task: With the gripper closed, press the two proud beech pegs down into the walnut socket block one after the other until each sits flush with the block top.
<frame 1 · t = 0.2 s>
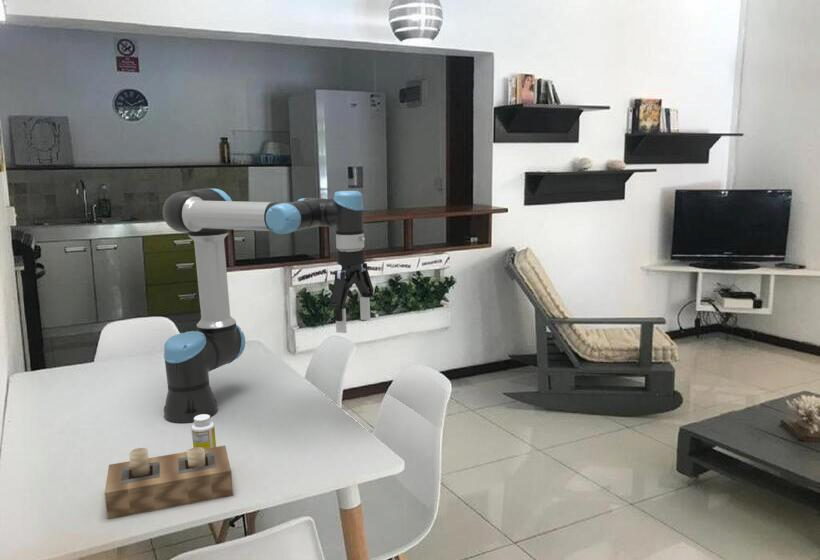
hand: (353, 326, 187), 28 cm above the table, fingers open, 13 cm apart
socket block: (171, 491, 156), on the table
supplement bottle: (205, 455, 175), on the table
short peg: (196, 462, 157), point 6 cm above the table, slide at 3.0 cm
tall peg: (139, 464, 153), point 8 cm above the table, slide at 5.0 cm
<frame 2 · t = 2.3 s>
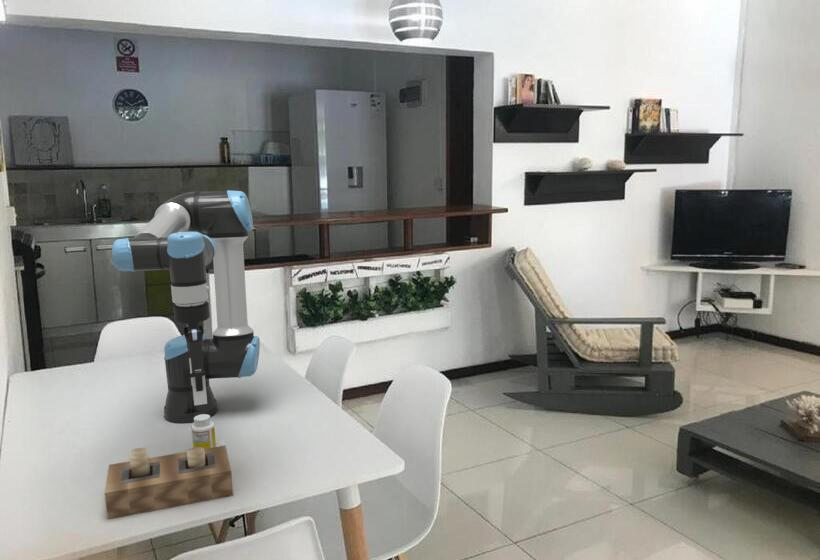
hand: (199, 394, 155), 22 cm above the table, fingers open, 13 cm apart
nothing on the table moved.
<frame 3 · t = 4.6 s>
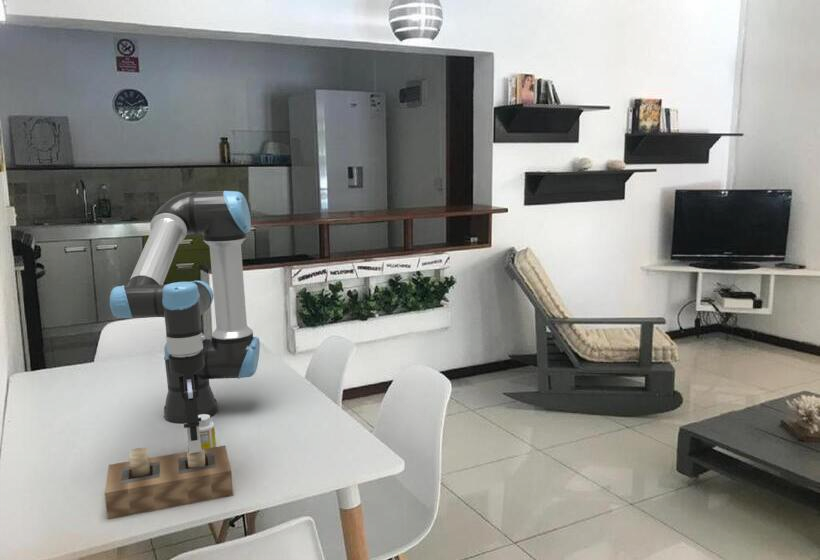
hand: (195, 451, 156), 9 cm above the table, fingers closed
short peg: (196, 464, 157), point 6 cm above the table, slide at 2.7 cm, touching gripper
everything else where it was.
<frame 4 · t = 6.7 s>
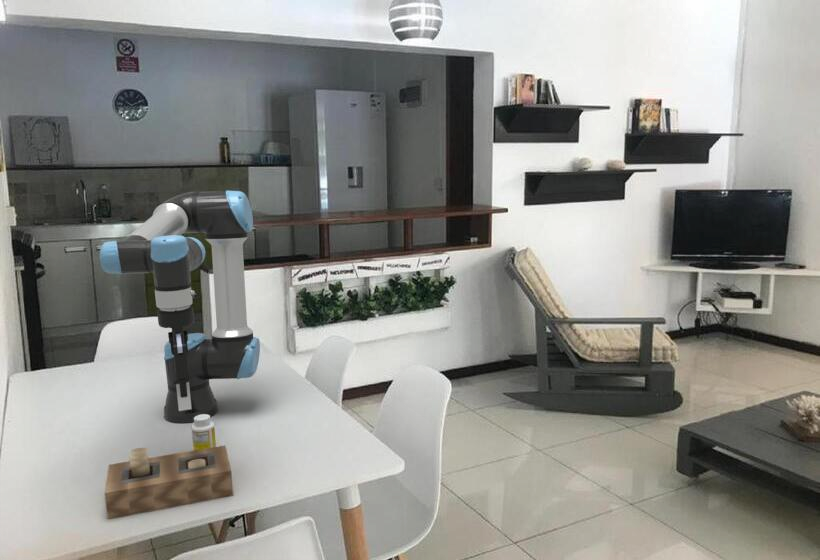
hand: (185, 408, 154), 19 cm above the table, fingers closed
short peg: (197, 474, 158), point 3 cm above the table, slide at 0.1 cm
everything else where it was.
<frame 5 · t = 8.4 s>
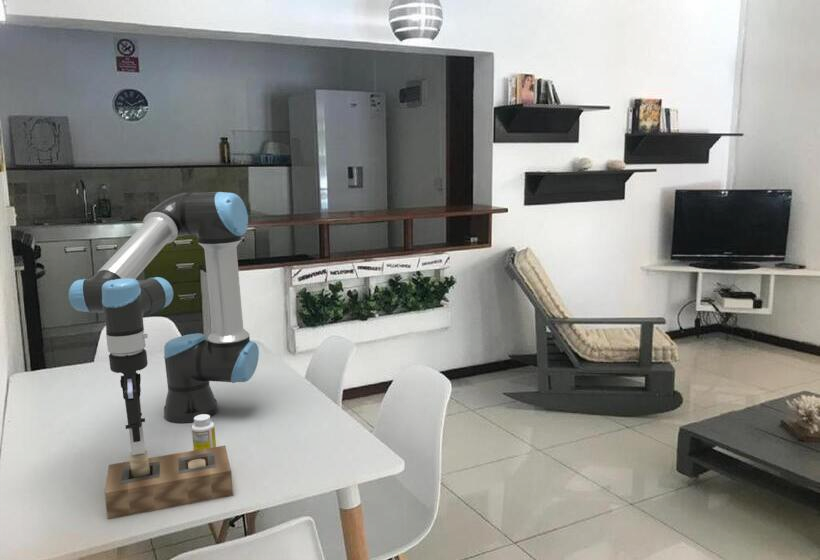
hand: (138, 452, 152), 11 cm above the table, fingers closed
tall peg: (140, 466, 153), point 8 cm above the table, slide at 4.5 cm, touching gripper
everything else where it was.
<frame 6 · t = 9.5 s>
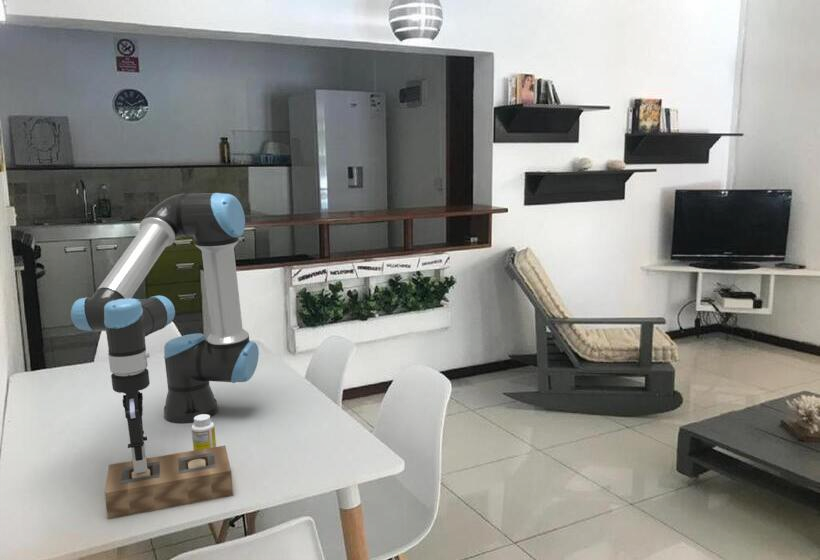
hand: (140, 471, 153), 6 cm above the table, fingers closed
tall peg: (142, 484, 154), point 3 cm above the table, slide at 0.1 cm, touching gripper
everything else where it was.
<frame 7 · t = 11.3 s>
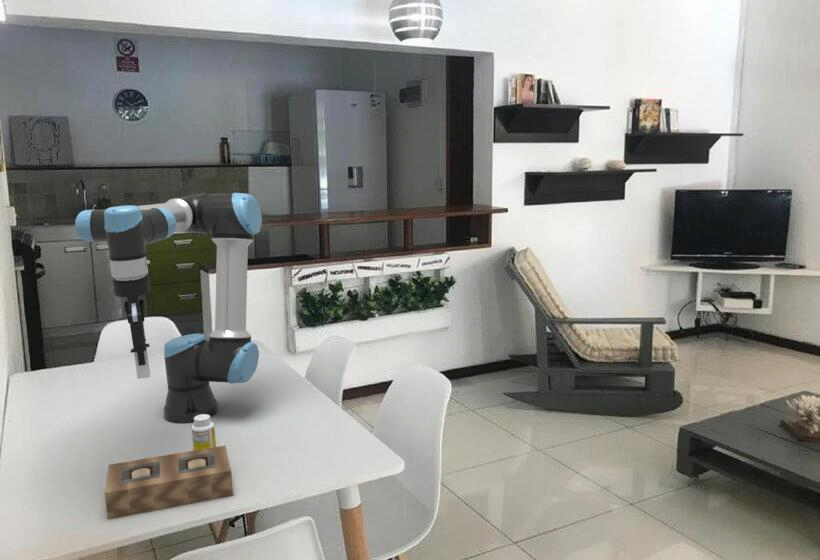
hand: (143, 376, 157), 26 cm above the table, fingers closed
tall peg: (142, 484, 154), point 3 cm above the table, slide at 0.1 cm
everything else where it was.
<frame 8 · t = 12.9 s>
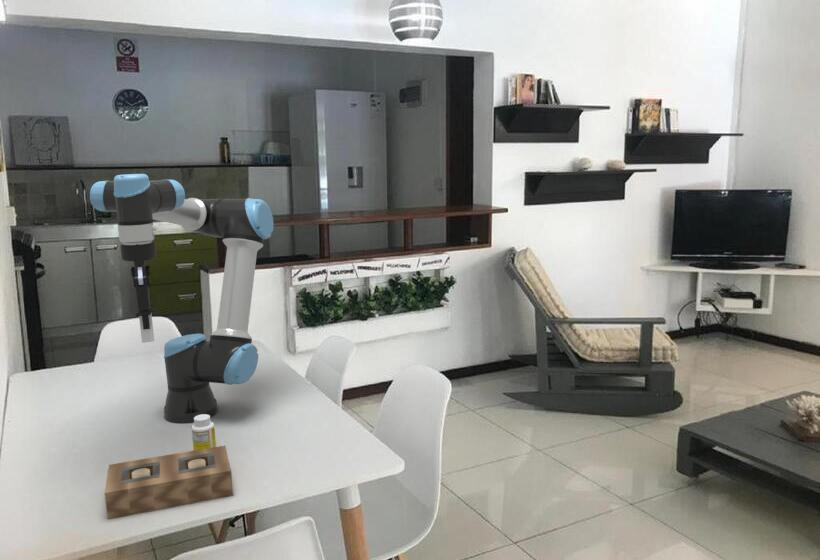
hand: (148, 341, 161), 32 cm above the table, fingers closed
nothing on the table moved.
at the end: tall peg slide at 0.1 cm; short peg slide at 0.1 cm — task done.
